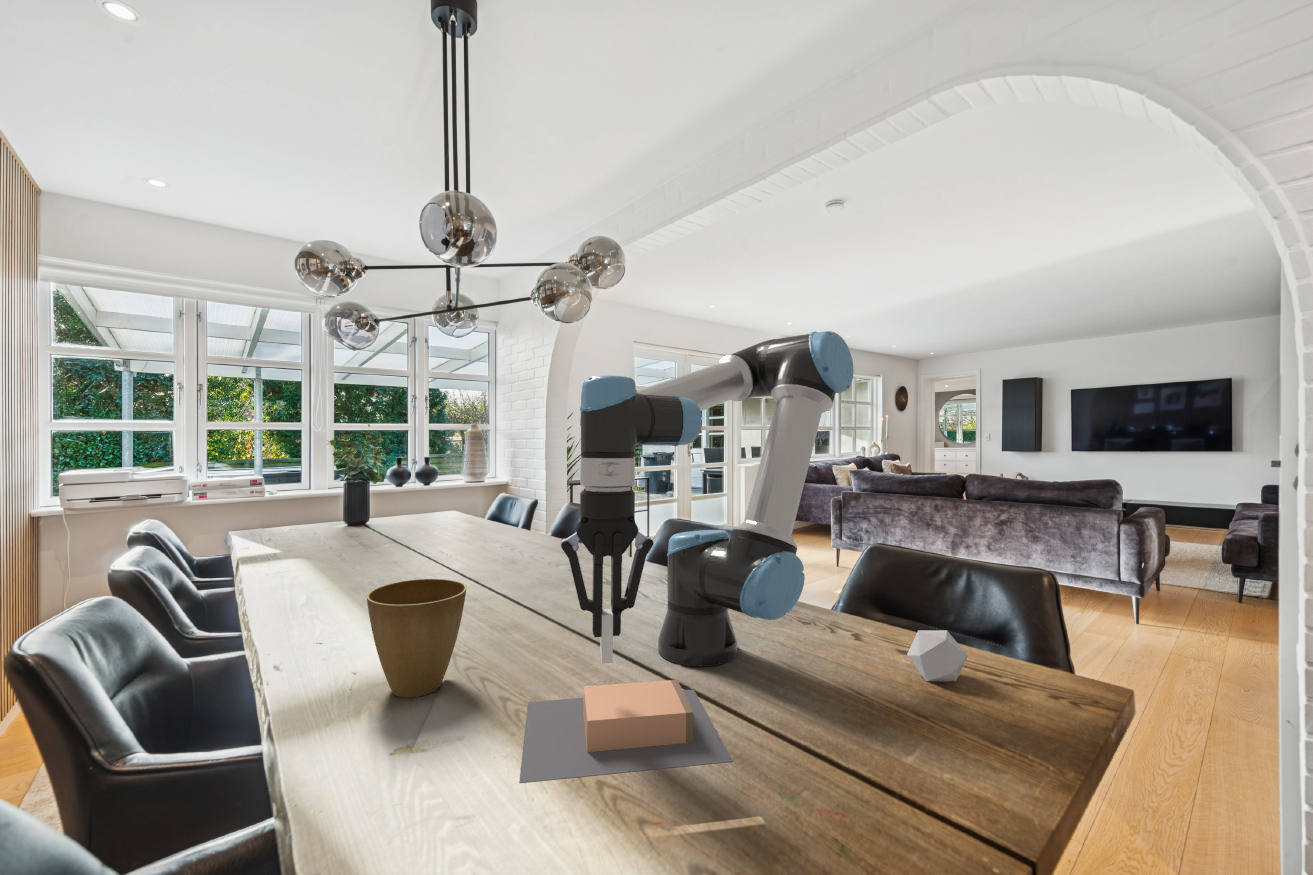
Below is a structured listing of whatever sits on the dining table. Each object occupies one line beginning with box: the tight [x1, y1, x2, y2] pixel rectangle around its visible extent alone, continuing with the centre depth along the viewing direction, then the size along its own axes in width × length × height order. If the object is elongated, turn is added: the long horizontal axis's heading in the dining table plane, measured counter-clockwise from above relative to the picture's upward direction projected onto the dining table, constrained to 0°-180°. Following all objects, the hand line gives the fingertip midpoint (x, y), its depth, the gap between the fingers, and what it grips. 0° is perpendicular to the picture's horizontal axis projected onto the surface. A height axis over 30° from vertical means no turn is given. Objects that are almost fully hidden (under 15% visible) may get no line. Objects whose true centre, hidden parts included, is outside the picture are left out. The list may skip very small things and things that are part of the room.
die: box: [906, 629, 969, 682], centre depth 95 cm, size 8×9×10 cm
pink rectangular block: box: [583, 679, 693, 752], centre depth 77 cm, size 10×4×14 cm
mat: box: [519, 689, 734, 784], centre depth 76 cm, size 20×26×1 cm
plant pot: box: [366, 578, 467, 699], centre depth 90 cm, size 15×15×16 cm
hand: (606, 658), depth 76 cm, fingers closed
